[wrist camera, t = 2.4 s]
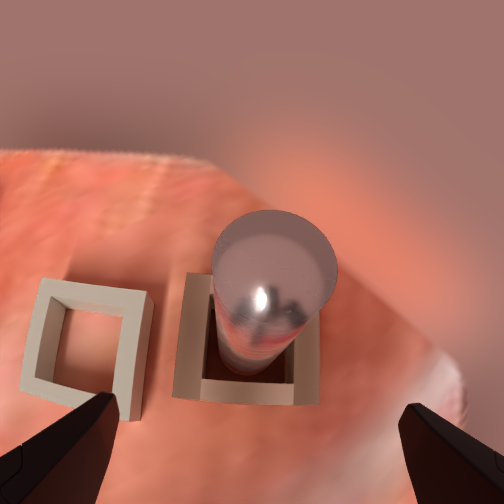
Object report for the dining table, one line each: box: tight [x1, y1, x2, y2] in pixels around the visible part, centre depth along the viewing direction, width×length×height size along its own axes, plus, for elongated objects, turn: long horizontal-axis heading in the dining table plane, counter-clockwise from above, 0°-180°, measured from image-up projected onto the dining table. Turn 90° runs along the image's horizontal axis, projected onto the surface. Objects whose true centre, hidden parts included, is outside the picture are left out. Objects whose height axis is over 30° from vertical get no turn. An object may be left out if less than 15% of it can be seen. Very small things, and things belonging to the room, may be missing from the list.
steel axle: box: [212, 210, 338, 376], centre depth 14 cm, size 4×4×12 cm
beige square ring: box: [172, 272, 320, 406], centre depth 19 cm, size 8×7×3 cm
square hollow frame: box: [19, 277, 154, 422], centre depth 17 cm, size 8×8×2 cm
